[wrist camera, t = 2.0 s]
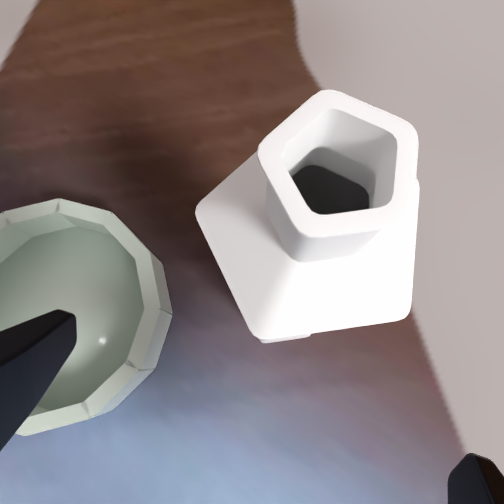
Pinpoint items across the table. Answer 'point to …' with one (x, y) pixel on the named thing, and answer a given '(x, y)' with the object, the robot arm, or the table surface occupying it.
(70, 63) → the table surface
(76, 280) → the ring dish
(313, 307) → the white faceted vase
